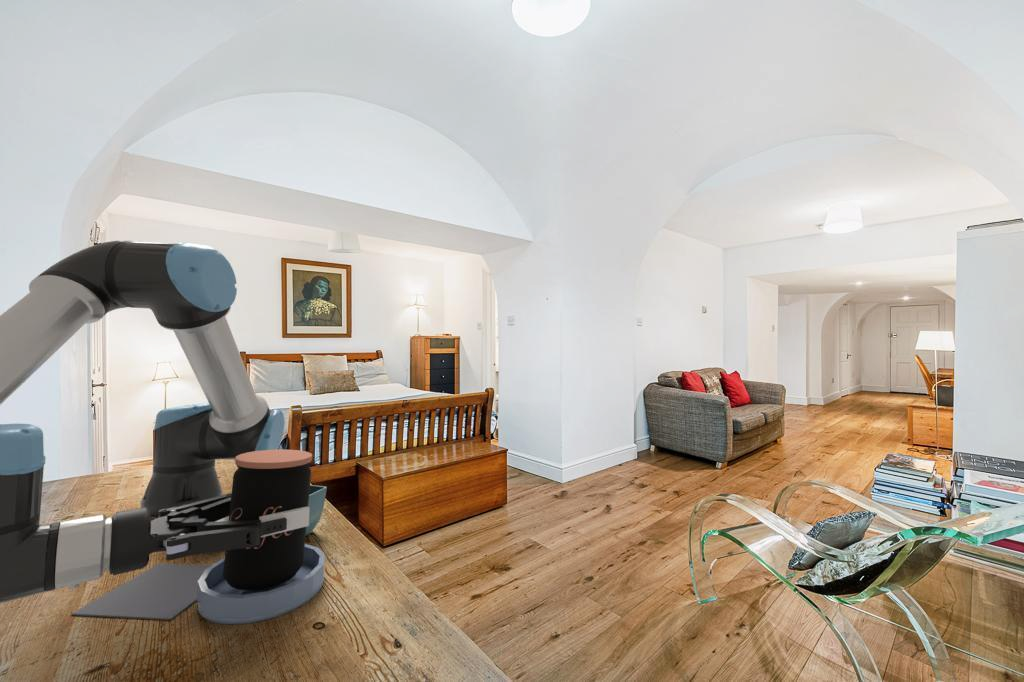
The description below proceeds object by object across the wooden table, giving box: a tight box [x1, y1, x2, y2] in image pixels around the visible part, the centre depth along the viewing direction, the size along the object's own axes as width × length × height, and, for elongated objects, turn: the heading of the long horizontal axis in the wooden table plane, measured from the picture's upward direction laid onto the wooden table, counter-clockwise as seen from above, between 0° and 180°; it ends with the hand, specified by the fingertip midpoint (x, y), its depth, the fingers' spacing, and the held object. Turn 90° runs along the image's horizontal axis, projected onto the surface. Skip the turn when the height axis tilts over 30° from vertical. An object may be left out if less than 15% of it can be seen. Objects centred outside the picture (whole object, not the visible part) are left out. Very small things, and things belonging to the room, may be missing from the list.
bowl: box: [196, 543, 326, 625], centre depth 66 cm, size 17×17×4 cm
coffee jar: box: [223, 449, 313, 590], centre depth 66 cm, size 11×11×18 cm
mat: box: [71, 563, 211, 621], centre depth 65 cm, size 14×14×1 cm
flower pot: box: [306, 484, 328, 536], centre depth 85 cm, size 9×9×9 cm
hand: (296, 505), depth 69 cm, fingers closed on coffee jar, 11 cm apart
